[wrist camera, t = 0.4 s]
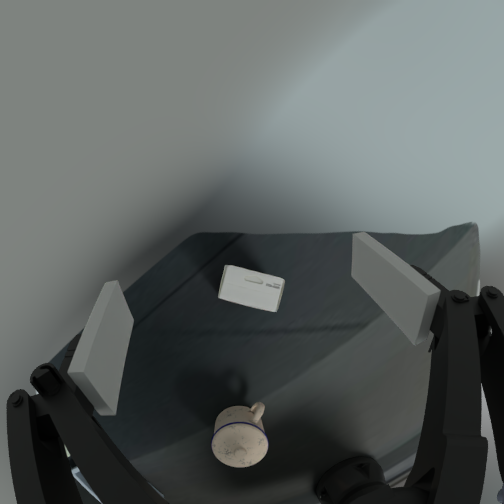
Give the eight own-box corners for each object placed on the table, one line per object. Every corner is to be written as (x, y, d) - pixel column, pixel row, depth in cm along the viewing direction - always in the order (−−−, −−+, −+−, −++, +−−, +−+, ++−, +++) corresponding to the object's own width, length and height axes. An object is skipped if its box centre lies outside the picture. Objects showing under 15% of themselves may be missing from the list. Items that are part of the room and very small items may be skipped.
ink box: (219, 298, 50) (215, 298, 38) (226, 271, 50) (224, 263, 39) (267, 310, 50) (277, 313, 38) (274, 283, 51) (286, 279, 39)
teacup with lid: (247, 451, 45) (251, 483, 33) (205, 431, 45) (199, 461, 34) (280, 404, 47) (293, 430, 36) (237, 382, 47) (238, 405, 36)
